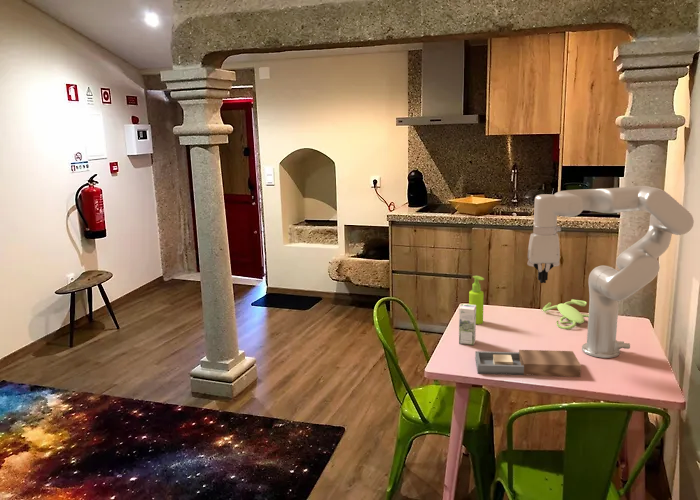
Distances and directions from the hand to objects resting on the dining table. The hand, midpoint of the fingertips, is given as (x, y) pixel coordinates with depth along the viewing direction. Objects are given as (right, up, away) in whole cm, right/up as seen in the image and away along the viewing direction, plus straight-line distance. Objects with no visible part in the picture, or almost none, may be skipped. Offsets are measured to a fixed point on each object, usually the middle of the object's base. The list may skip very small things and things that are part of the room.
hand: (542, 281), depth 204 cm
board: (0, -29, -6) cm, 30 cm away
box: (-16, -29, -3) cm, 33 cm away
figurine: (+25, -18, +42) cm, 52 cm away
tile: (-15, -26, -4) cm, 30 cm away
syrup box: (-22, -24, +19) cm, 38 cm away
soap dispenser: (-14, -19, +40) cm, 47 cm away
